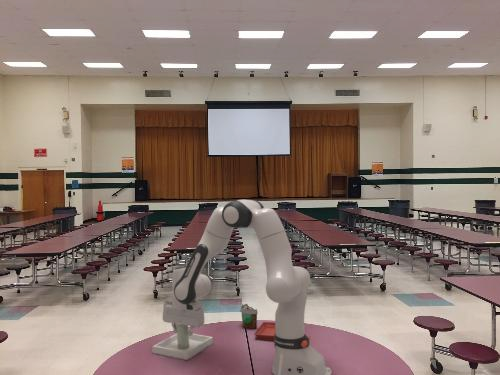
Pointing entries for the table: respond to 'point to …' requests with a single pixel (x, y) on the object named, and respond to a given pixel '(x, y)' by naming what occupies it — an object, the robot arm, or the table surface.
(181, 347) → the cylinder
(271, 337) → the plant saucer
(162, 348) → the tray
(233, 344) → the table surface
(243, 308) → the food container
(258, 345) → the table surface
